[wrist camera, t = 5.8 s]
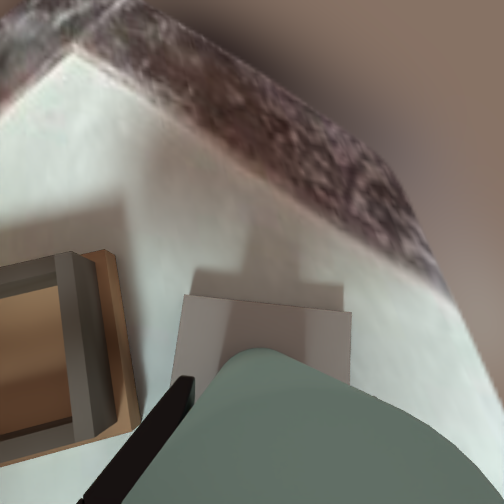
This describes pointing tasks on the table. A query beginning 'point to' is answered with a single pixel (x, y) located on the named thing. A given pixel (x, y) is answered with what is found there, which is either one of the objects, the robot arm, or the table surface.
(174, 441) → the peg
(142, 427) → the robot arm
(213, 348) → the pad
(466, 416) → the table surface
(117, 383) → the socket
